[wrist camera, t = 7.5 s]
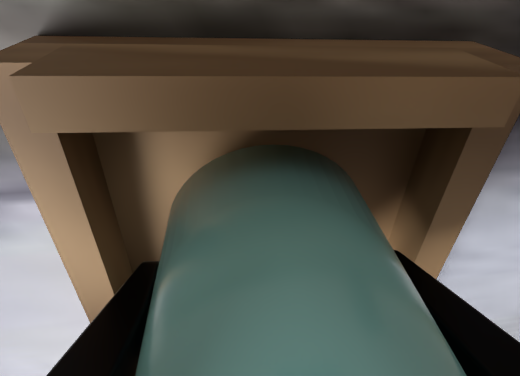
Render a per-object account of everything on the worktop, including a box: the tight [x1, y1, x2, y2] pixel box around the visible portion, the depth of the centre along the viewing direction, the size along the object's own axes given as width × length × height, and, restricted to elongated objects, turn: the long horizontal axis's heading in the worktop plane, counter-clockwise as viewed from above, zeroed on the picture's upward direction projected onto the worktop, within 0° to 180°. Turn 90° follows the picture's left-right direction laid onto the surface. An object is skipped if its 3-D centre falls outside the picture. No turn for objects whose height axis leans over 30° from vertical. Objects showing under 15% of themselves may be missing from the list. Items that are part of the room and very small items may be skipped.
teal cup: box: [135, 145, 467, 376], centre depth 7 cm, size 6×6×6 cm
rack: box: [0, 36, 520, 323], centre depth 12 cm, size 18×11×3 cm, turn 178°
